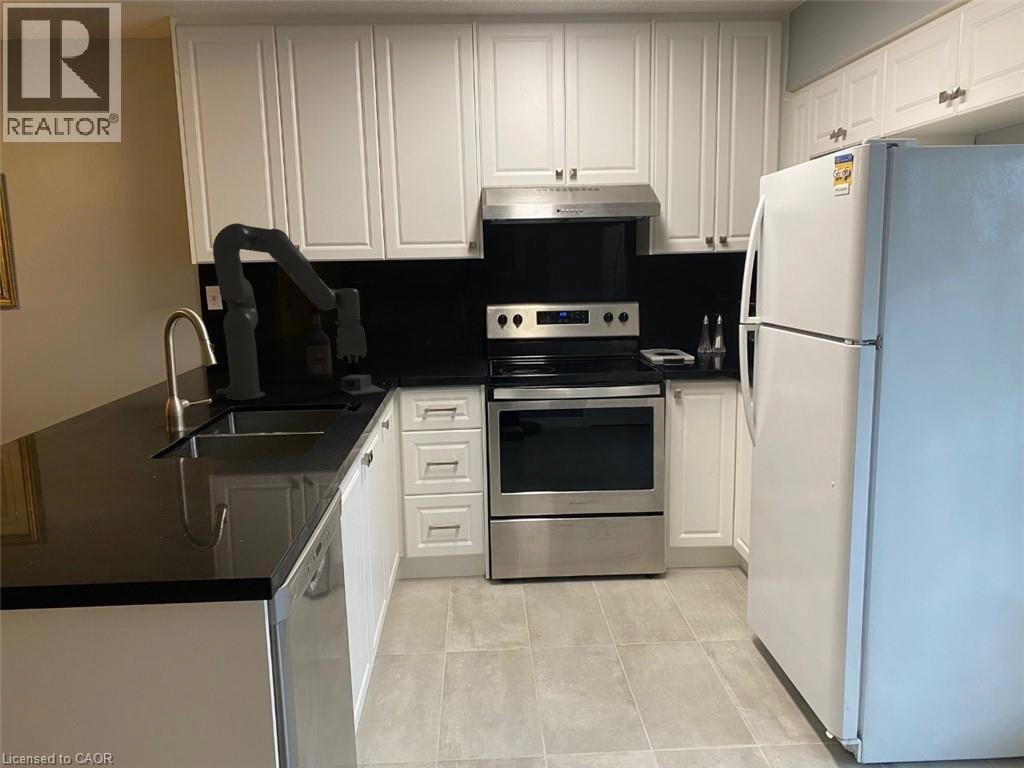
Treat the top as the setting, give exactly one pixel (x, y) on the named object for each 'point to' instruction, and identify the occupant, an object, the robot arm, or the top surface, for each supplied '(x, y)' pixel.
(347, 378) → the medicine box
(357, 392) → the mat
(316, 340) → the liquor
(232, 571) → the top surface
